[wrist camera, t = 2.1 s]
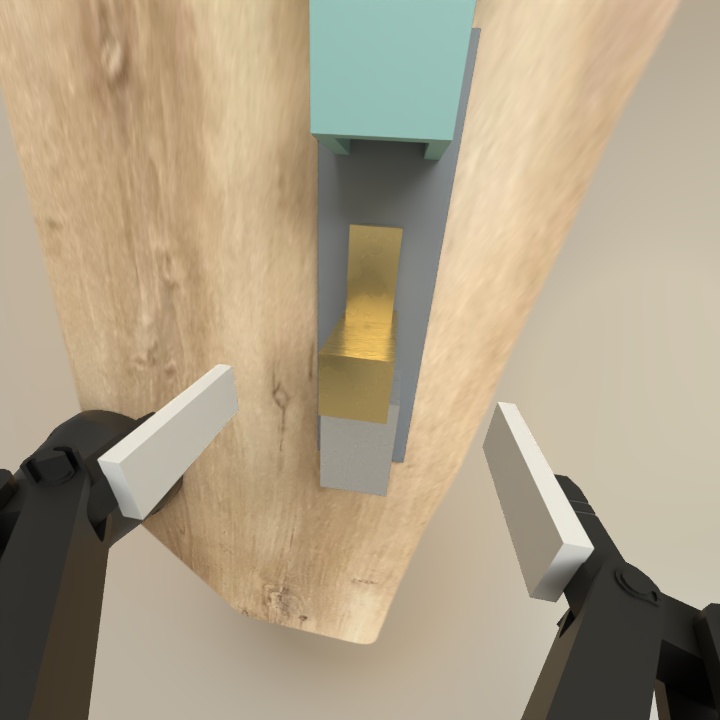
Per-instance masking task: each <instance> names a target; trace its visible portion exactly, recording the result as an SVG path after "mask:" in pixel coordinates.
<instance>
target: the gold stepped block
mask: <svg viewBox="0 0 720 720" xmlns="http://www.w3.org/2000/svg"><path fill="white" fill-rule="evenodd" d="M402 231H403V227H398V226H385V225H372V224H359V223H356V224H351V225H350V232H349V254H348V276H347V297H346V309H345V311H344V313H343V314H342V316H341V317H340V319H339V321H338V322H337V324H336V326H335V327H334V329H333V331H332V332H331V334H330V335H329V337H328V339H327V340H326V342H325V344H324V345H323V347H322V348H321V350H320V352H319V355H318V415H323V416H330V417H337V418H345V419H352V420H359V421H366V422H374V423H381V424H387V417H388V409H389V402H390V395H391V387H392V380H393V372H394V365H395V351H396V335H397V318H398V311H393V306H394V297H395V289H396V281H397V272H398V264H399V256H400V248H401V239H402Z"/></svg>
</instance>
